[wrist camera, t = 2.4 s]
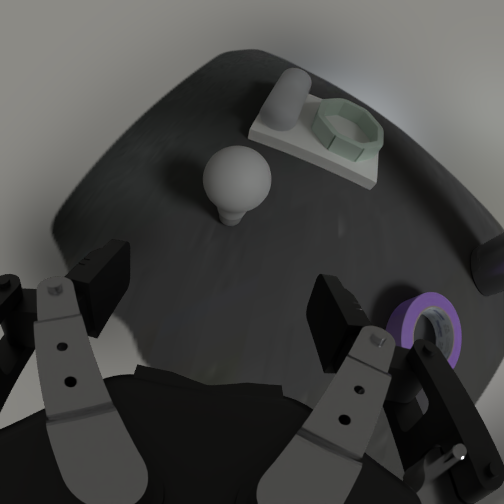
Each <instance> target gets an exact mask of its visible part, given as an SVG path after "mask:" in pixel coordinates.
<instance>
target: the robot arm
mask: <svg viewBox="0 0 504 504" xmlns="http://www.w3.org/2000/svg"><path fill="white" fill-rule="evenodd" d="M471 270H472V275H473V278H474V281H475V284H476V286H477V288H478V289H479V291H480V292H481V293H482V294H483V295H485V296H490V295H493V294H497V293H499V292H502V291H504V232H503V233H501V234H500V235H498V236H496V237H495V238H493V239H491V240H489V241H488V242H486V243H484V244H483V245H481V246H479V247H477V248H475V249H474V250H473V252H472V255H471ZM129 282H130V244H129V242H125V241H120V240H114V239H112V240H111V241H109V242H108V243H107V244H106V245H105V246H104V247H103V248H102V249H101V248H99V249H97V250H95V251H92V252H90V253H89V254H88V255H87V256H86V257H85V258H84V260H83V259H82V260H81V261H80V262H79V264H77V265H76V266H75V267H74V268H73V269H72V270H71V271H70V272H69V273H68V274H67V275H66V276H65V277H59V276H57V277H50V278H47V279H45V280H43V281H42V282H41V283H40V284H39V285H38V287H37V289H22V287H21V283H20V279H19V277H18V276H16V275H13V274H5V275H1V276H0V324H1V327H2V329H3V332H4V336H3V337H2V338H1V340H0V412H1V410H2V407H3V406H4V404H5V402H6V399H7V398H8V396H9V394H10V392H11V390H12V388H13V386H14V384H15V383H16V381H17V379H18V377H19V375H20V373H21V372H22V370H23V368H24V367H25V365H26V363H27V361H28V360H29V358H30V357H31V355H32V353H33V352H34V350H35V349H36V358H37V366H38V373H39V379H40V385H41V391H42V396H43V401H44V405H45V409H42V410H40V411H38V412H36V413H34V414H32V415H30V416H28V417H26V418H24V419H22V420H20V421H17V422H15V423H13V424H11V425H9V426H7V427H5V428H2V429H0V504H474V503H476V502H478V501H479V500H481V499H483V498H484V497H486V496H487V495H489V494H490V493H492V492H493V491H495V490H496V489H498V488H499V487H500V486H501V485H502V483H503V481H504V465H503V462H502V460H501V457H500V455H499V453H498V451H497V449H496V446H495V444H494V442H493V440H492V438H491V436H490V434H489V432H488V430H487V428H486V426H485V424H484V422H483V420H482V418H481V417H480V415H479V413H478V411H477V409H476V407H475V406H474V404H473V402H472V400H471V398H470V397H469V395H468V393H467V392H466V390H465V388H464V387H463V385H462V383H461V382H460V380H459V378H458V377H457V375H456V373H455V372H454V370H453V369H452V367H451V366H450V364H449V362H448V361H447V359H446V358H445V356H444V355H443V353H442V352H441V350H440V349H439V348H438V347H437V346H436V345H435V344H433V343H432V342H430V341H427V340H423V339H419V340H416V341H415V342H414V344H413V345H412V347H411V349H408V348H404V347H400V346H396V343H395V340H394V338H393V337H392V335H391V334H390V333H388V332H387V331H386V330H384V329H382V328H380V327H376V326H372V324H371V323H370V321H369V319H368V318H367V316H366V314H365V313H364V311H363V310H362V308H361V306H360V305H359V304H358V301H357V300H356V298H355V297H354V295H353V294H351V293H350V292H349V291H348V290H347V289H344V287H343V286H342V284H341V282H340V281H339V279H338V278H337V277H336V276H330V275H324V274H319V275H318V277H317V279H316V282H315V285H314V288H313V291H312V294H311V297H310V299H309V302H308V305H307V311H306V317H307V321H308V324H309V327H310V330H311V333H312V336H313V339H314V343H315V346H316V349H317V352H318V355H319V358H320V362H321V365H322V368H323V371H324V373H336V375H335V377H334V379H333V380H332V382H331V384H330V385H329V387H328V388H327V390H326V392H325V393H324V395H323V396H322V398H321V399H320V401H319V402H318V404H317V405H316V407H315V408H314V410H313V409H311V408H310V407H308V406H307V405H305V404H303V403H301V402H299V401H297V400H294V399H292V398H289V397H285V396H283V392H282V385H268V384H255V383H238V384H227V385H205V384H202V383H199V382H197V381H194V380H191V379H189V378H186V377H184V376H181V375H178V374H176V373H173V372H170V371H165V370H160V369H155V368H151V367H146V366H142V365H137V367H136V370H135V373H134V374H127V375H117V376H112V377H108V378H105V379H102V376H101V373H100V371H99V368H98V365H97V362H96V360H95V357H94V354H93V351H92V348H91V345H90V342H89V338H88V336H90V337H94V338H98V336H99V335H100V333H101V331H102V329H103V328H104V326H105V324H106V323H107V321H108V319H109V318H110V316H111V314H112V313H113V311H114V310H115V308H116V306H117V305H118V303H119V302H120V300H121V298H122V297H123V295H124V294H125V292H126V291H127V289H128V286H129ZM422 388H423V390H424V392H425V394H426V396H427V398H428V401H429V406H428V410H427V412H426V413H425V414H424V415H423V413H422V411H421V408H420V406H419V404H418V402H417V400H416V397H415V396H416V395H417V394H418V393H419V391H420V390H421V389H422ZM382 406H383V408H384V411H385V413H386V416H387V419H388V422H389V425H390V428H391V431H392V434H393V437H394V440H395V443H396V446H397V449H398V452H399V456H400V459H401V462H402V465H403V469H404V472H405V473H404V476H403V481H402V480H400V479H399V478H398V477H396V476H395V475H394V474H392V473H391V472H389V471H388V470H387V469H385V468H384V467H383V466H381V465H380V464H379V463H377V462H376V461H375V460H374V459H372V458H371V457H370V456H368V455H367V454H366V453H365V449H366V447H367V445H368V442H369V440H370V438H371V435H372V433H373V430H374V428H375V425H376V422H377V420H378V417H379V414H380V411H381V409H382Z"/></svg>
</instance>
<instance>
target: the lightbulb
mask: <svg viewBox="0 0 504 504" xmlns="http://www.w3.org/2000/svg"><path fill="white" fill-rule="evenodd" d="M203 185H204V189H205V191H206V194H207V196H208V198H209V199H210V201H211V202H213V203H214V204H215V205H216V206H217V209H218V212H219V218H220V221H221V222H222V223H223V224H225V225H227V226H234V225H237V224H238V223H239V222H240V220H241V218H242V216H243V215H244V214H245V213H246V211H249V210H252V209H253V208H255V207H257V206H258V205H259V204H261V202H262V201H263V200H264V199H265V198H266V196H267V194H268V192H269V190H270V186H271V172H270V169H269V166H268V164H267V162H266V160H265V159H264V158H263V157H262V156H261V155H260V154H259V153H258V152H256V151H255V150H253V149H251V148H248V147H245V146H230V147H226V148H224V149H222V150H220V151H218V152H217V153H215V154H214V155H213V156H212V157H211V158H210V160H209V161H208V163H207V164H206V167H205V170H204V173H203Z"/></svg>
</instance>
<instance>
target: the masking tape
mask: <svg viewBox="0 0 504 504" xmlns="http://www.w3.org/2000/svg"><path fill="white" fill-rule="evenodd" d="M421 314H423V315H425V316H426V317H427V318H428V319H429V320H430V321H431V323H432V325H433V327H434V330H435V335H436V346H437V347H438V348H439V349H440V350H441V352H442V353H443V355H444V356H445V358H446V359H447V361H448V362H449V364H450V366H451V367H452V369H454V367H455V365H456V363H457V360H458V357H459V354H460V349H461V339H462V337H461V326H460V321H459V318H458V315H457V313H456V311H455V309H454V307H453V306H452V304H451V303H450V302H449V300H448V299H446V298H445V297H444V296H442V295H441V294H438V293H435V292H427V293H423V294H421V295H418V296H416V297H414V298H411V299H409V300H406V301H404V302H402V303H401V304H400V305H398V306H397V307H396V309H395V310H394V311H393V313H392V314H391V316H390V318H389V320H388V323H387V326H386V331H387V332H388V333H390V334H391V335H392V337H393V338H394V340H395V343H396V346H400V347H404V348H408V349H411V347H412V345H413V344H414V339H413V337H414V329H415V325H416V322H417V320H418V318H419V316H420V315H421Z"/></svg>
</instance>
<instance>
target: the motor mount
mask: <svg viewBox="0 0 504 504" xmlns="http://www.w3.org/2000/svg"><path fill="white" fill-rule="evenodd" d="M310 87H311V78H310V76H309V75H308V74H307V73H306V72H305V71H303V70H301V69H298V68H290V69H287V70H285V71H284V72H283V73H282V75H281V76H280V78H279V80H278V81H277V83H276V84H275V86H274V88H273V89H272V91H271V93H270V94H269V96H268V97H267V99H266V101H265V102H264V104H263V106H262V107H261V109H260V112H259V114H258V116H257V117H256V119H255V121H254V123H253V124H252V126H251V128H250V130H249V135H248V139H250V140H253V141H255V142H258V143H261V144H264V145H267V146H269V147H272V148H275V149H277V150H280V151H282V152H285V153H288V154H290V155H293V156H295V157H298V158H300V159H303V160H305V161H307V162H310V163H312V164H314V165H317V166H319V167H321V168H324V169H326V170H328V171H330V172H333V173H335V174H337V175H339V176H341V177H344V178H346V179H348V180H350V181H352V182H354V183H356V184H358V185H360V186H362V187H365V188H367V189H369V190H371V188H372V187H373V186H374V185H375V184H376V183H377V170H378V153H379V150H380V149H381V148H382V146H383V129H382V126H381V125H380V124H379V123H378V122H377V121H376V119H375V118H374V117H373V116H372V115H371V114H370V113H369V111H368V110H367V111H366V109H365V108H363V107H361V106H358V105H356V104H354V103H352V102H350V101H348V100H346V99H342V98H334V99H321V98H318V97H316V96H313V95H311V94H308V92H309V90H310Z"/></svg>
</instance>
